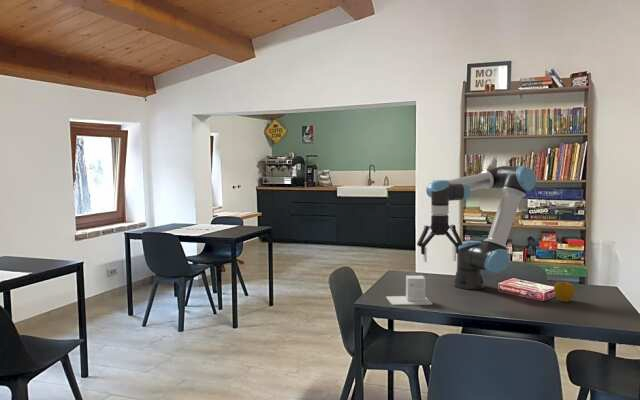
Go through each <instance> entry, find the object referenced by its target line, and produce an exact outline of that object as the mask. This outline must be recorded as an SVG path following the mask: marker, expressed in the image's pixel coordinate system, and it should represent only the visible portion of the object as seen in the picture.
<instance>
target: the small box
mask: <svg viewBox="0 0 640 400" xmlns="http://www.w3.org/2000/svg"><path fill="white" fill-rule="evenodd" d="M426 282H427V281H426V278H425V276H424V275H405V296H406V299H407V300H408V301H425V297H426Z"/></svg>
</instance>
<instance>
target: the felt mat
mask: <svg viewBox="0 0 640 400" xmlns="http://www.w3.org/2000/svg"><path fill="white" fill-rule="evenodd" d="M385 298H386V299H387V300H388V302H389V304H391V305H392V306H420V305H421V306H427V305H429V306H430V305H433V302H431V300H429V299H428V298H427V297H426V296H425V301H408V300H407V299H406V295H398V296H397V295H392V296H388V295H387V296H385Z"/></svg>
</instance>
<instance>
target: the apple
mask: <svg viewBox="0 0 640 400" xmlns="http://www.w3.org/2000/svg"><path fill="white" fill-rule="evenodd" d="M553 292H554V295H555V297H556V299H557V300H558V301H559V302H561V301H562V302H561V303H568V302H570V301H571V300H572V299H573V297H574V295H575V293H576V288H575V286H574V285H573V284H572V283H570V282H565V281H557V282H556V283H555V284H554V286H553Z"/></svg>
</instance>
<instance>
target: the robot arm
mask: <svg viewBox="0 0 640 400" xmlns="http://www.w3.org/2000/svg"><path fill="white" fill-rule="evenodd" d="M536 179H537V178H536V175H535V172H534V170H533V169H532V168H531V167H529V166H525V165H510V166H509V165H502V166H497V167H494V168H493V167H492V168H490V169H485V170H482V171H481V172H480V173H476V174H471V175H468V176H467V175H466V176H462V177H457V178H454V179H449V180H447V179H436V180H435V179H434V180H432V182H430V183H428V185H427V186H426V188H425V189H426V190H425V192H426V194H427V196H428V197H429V198H431V210H430V211H431V212H430V213H431V218H430V219H431V221H430V222H431V224H430V225H426V224H425V225H424V226H423V231H422V233H421V235H420V237H419V238H418V241H417V242H416V244H417V246H418V247H420V254H421V255H422V259H423V260H422V261H423V262H424V263H427V256H428V255H427V249H428V248H427V245H428V244H429V243H430V241H432V239H433V238H434V237H435V236H444V235H445V236H446V238H448V239H449V241H450V243H452V257H451V258H452V259H451V260H452V262H453V261H454V262H456V263H457V264H456V266H457V267H456V272H455V275H454V278H453V280H452V281H453V282H452V285H453V286H454V287H456V288H458V289H463V290H482V289H484V288H485V281H484V277H483V274H482V270H483V271H487V272H489V273H501V272H502V271H504V270H505V269H507V267H508V265H509V262H510V254H509V252H508V246H507V244H506V243H507V240H508V237H509V235H510V232H511V229H512V226H513V224H514V220H515V218H516V215H517V211H518V208H519V206H520V202H521V200H522V198H524V197H526V195H527V193H528V192H530V191H532V190H533V189H534V187H535V185H536V181H537V180H536ZM480 189H486V190H489V189H500V190H501V192H502V196H501V198H500V201H499V204H498V207H497V210H496V213H495V216H494V219H493V221H492V224H491V228H490V230H489V233H488V236H487V238H485V239H483V241H481V240H464V241H462V239H461V238H460V236H459V234H458V231H457V230H456V229H457V228H456V225H455V224H453V223H452V224H449V217H450V216H449V215H448V214H449V213H450V211H449V206H450V205H449V203H450V202H451V201H463V200H464V201H465V200H467V199H469V198H470V197H471V196H470V195H471V192H473V191H476V190H480ZM449 229H450V230H451V232H452V234H453V236H454V238H455V239H456V240H455V239H454V238H453V236H452V235H451V234H450V233H449ZM430 230H431V231H430ZM429 231H430V232H429ZM428 232H429V234H428ZM427 234H428V236H427ZM426 236H427V237H426Z"/></svg>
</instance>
